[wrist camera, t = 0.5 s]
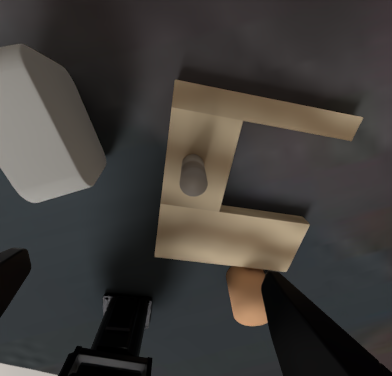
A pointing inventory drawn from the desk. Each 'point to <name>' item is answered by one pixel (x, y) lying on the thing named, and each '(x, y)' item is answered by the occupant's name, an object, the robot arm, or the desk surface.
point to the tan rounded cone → (246, 295)
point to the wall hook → (44, 128)
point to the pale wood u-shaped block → (218, 175)
